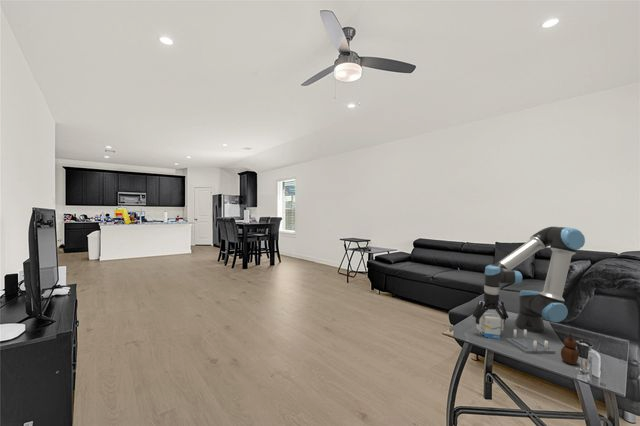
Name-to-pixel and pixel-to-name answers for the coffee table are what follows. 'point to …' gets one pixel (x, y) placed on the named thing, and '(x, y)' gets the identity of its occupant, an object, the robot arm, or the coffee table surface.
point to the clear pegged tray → (529, 344)
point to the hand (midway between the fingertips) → (489, 329)
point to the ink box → (490, 325)
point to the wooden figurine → (570, 351)
